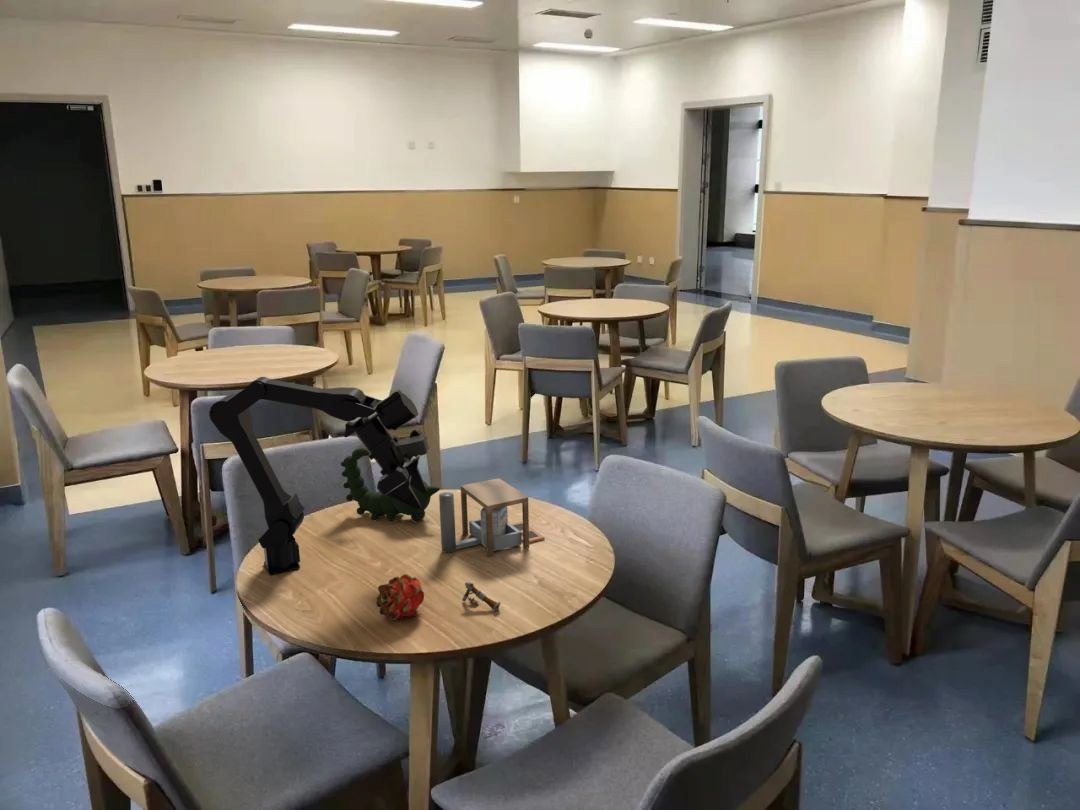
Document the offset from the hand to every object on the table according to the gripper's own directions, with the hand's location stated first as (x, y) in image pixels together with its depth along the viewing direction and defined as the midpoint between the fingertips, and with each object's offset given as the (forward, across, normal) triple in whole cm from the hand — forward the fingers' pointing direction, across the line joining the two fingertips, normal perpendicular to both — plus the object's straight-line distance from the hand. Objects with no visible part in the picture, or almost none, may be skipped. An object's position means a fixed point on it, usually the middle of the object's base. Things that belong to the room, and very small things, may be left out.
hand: (422, 500), depth 173 cm
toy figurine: (+6, +27, +18) cm, 33 cm away
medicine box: (+20, +12, -4) cm, 24 cm away
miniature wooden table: (+20, +12, -4) cm, 24 cm away
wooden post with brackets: (+20, -19, -3) cm, 28 cm away
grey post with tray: (+18, +10, -1) cm, 20 cm away
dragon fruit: (+12, -21, +10) cm, 26 cm away
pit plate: (+24, +16, -10) cm, 30 cm away
